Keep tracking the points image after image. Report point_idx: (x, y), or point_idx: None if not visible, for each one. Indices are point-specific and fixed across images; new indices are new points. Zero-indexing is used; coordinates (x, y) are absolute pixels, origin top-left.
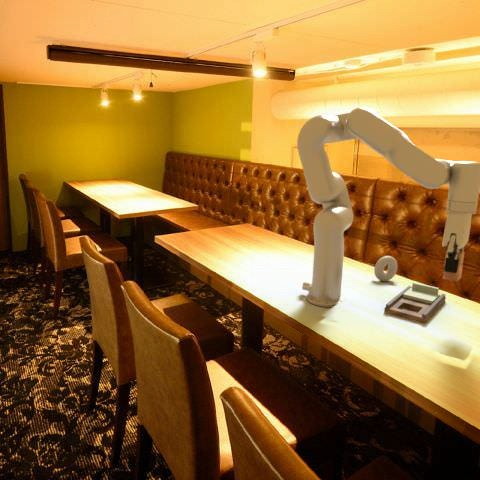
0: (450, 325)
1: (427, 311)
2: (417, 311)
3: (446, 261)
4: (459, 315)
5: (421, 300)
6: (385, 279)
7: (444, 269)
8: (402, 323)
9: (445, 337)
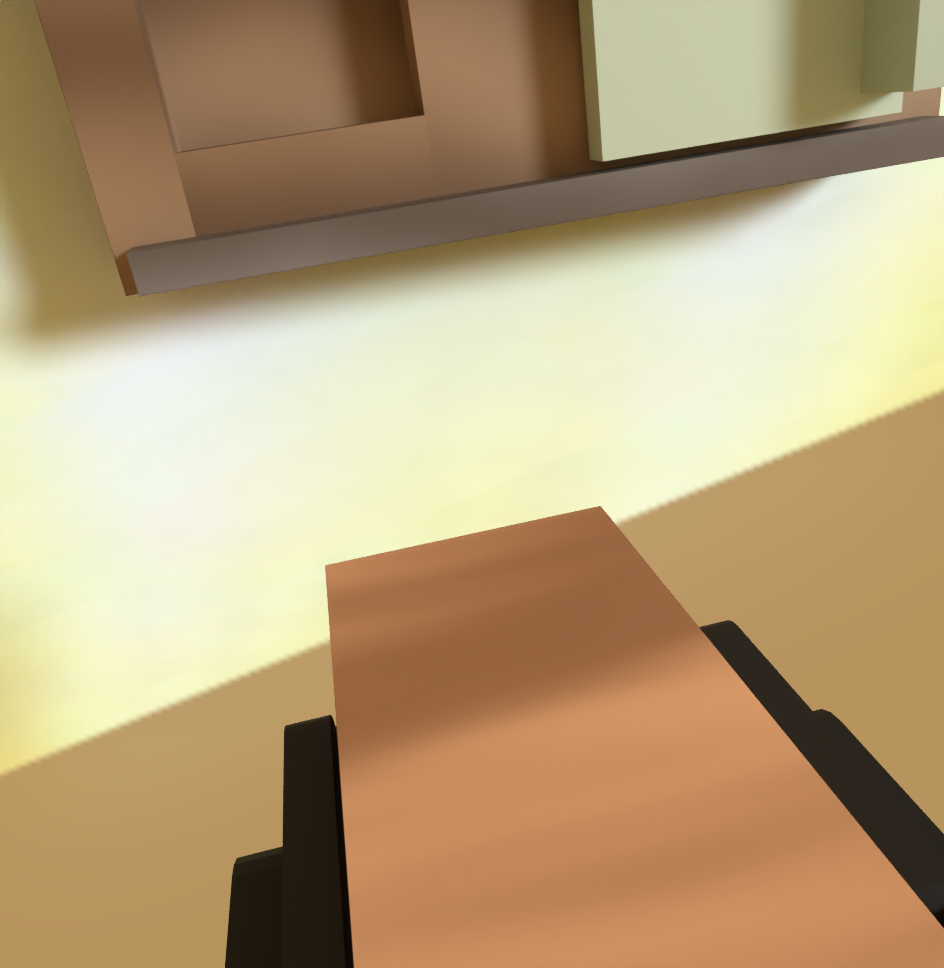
0: (426, 409)
1: (255, 260)
2: (382, 62)
3: (283, 957)
4: (709, 362)
5: (585, 7)
6: None
7: (339, 702)
8: (36, 41)
9: (139, 495)
